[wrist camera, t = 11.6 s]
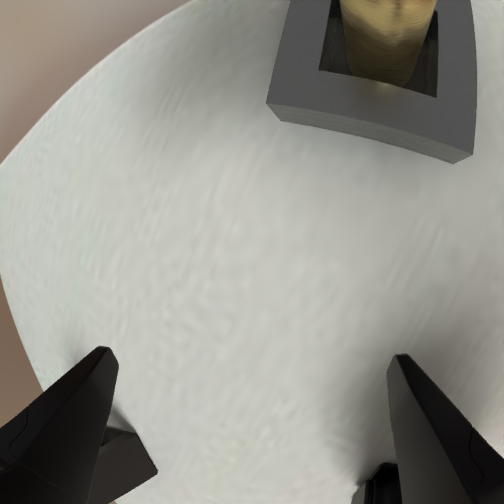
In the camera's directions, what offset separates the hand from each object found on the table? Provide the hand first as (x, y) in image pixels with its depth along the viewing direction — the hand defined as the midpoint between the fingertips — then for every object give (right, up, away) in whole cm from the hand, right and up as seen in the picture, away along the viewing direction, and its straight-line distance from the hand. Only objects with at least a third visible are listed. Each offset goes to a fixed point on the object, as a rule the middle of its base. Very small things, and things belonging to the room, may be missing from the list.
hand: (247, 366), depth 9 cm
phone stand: (-15, -19, +20) cm, 32 cm away
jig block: (+8, +16, +7) cm, 19 cm away
